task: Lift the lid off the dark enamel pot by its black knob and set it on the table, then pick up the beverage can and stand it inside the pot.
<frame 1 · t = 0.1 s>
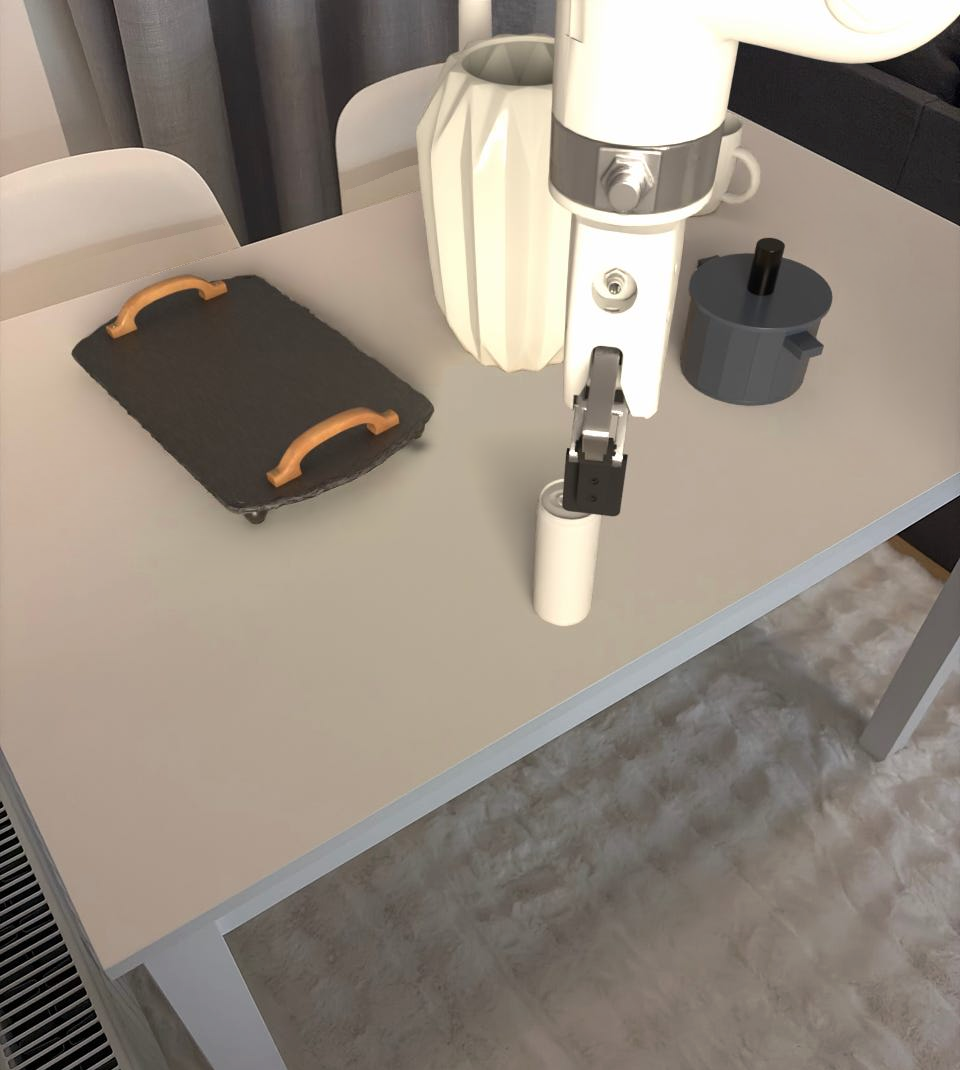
hand: (600, 454, 56), 22 cm above the table, tool pointing down, fingers open, 9 cm apart
mug: (704, 210, 120), on the table
pot: (741, 368, 98), on the table
vase: (519, 343, 102), on the table
beverage can: (561, 609, 78), on the table
lid: (759, 293, 92), point 8 cm above the table, touching pot
wine bottle: (478, 259, 113), on the table
serving tray: (252, 401, 96), on the table
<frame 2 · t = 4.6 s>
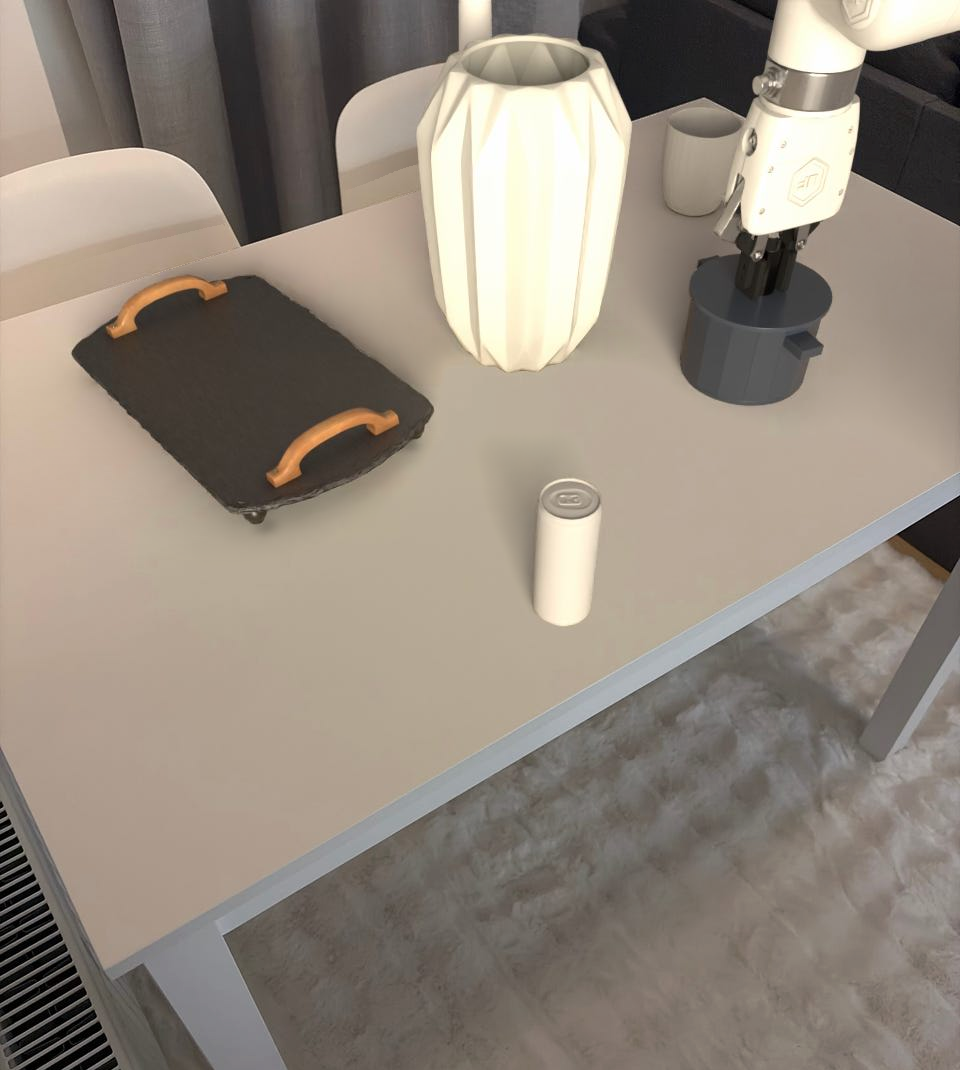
hand: (760, 287, 91), 9 cm above the table, tool pointing down, fingers closed on lid, 2 cm apart
lid: (759, 293, 92), point 9 cm above the table, touching gripper, pot
everything else where it was.
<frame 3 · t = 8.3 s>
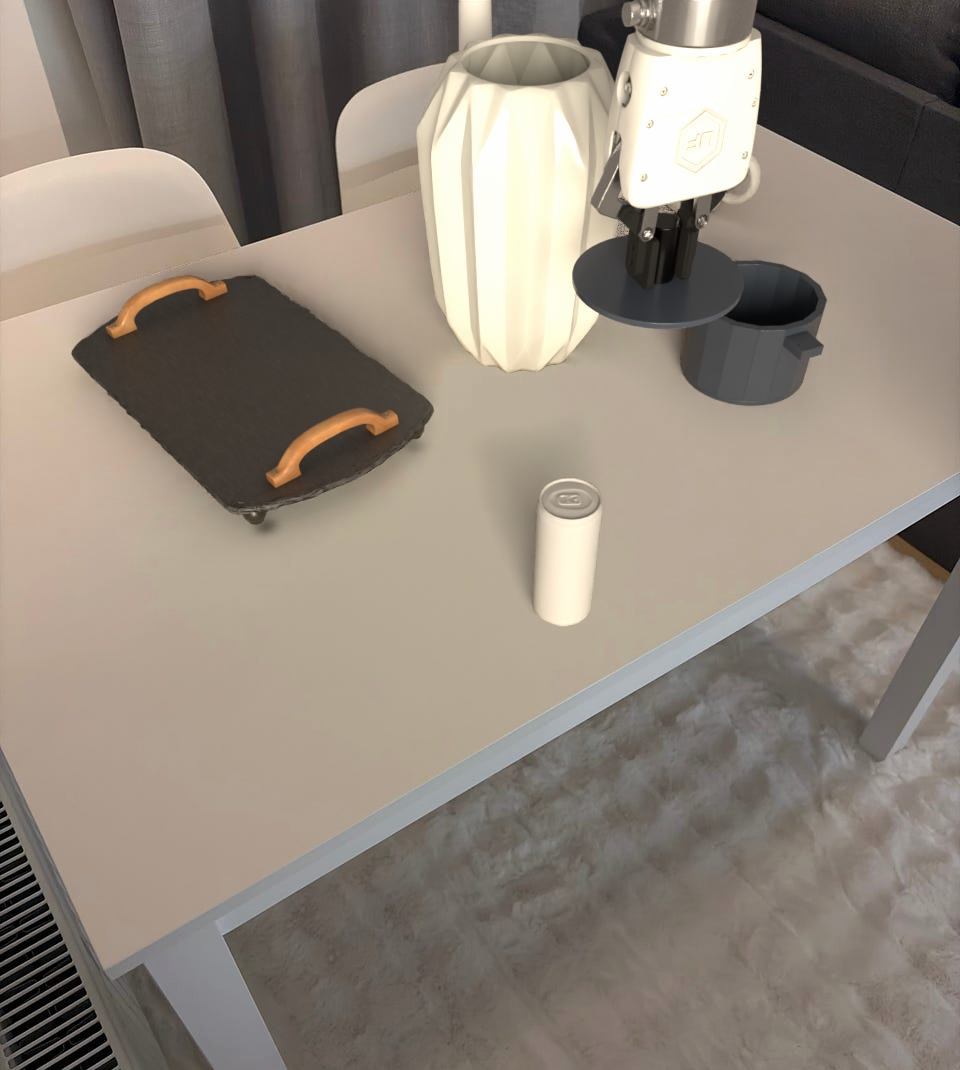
hand: (658, 273, 75), 19 cm above the table, tool pointing down, fingers closed on lid, 2 cm apart
lid: (656, 281, 76), point 18 cm above the table, touching gripper
everything else where it was.
when the fingers open (1 cm above the table, at t = 12.2 s): lid stays where it is, point 1 cm above the table.
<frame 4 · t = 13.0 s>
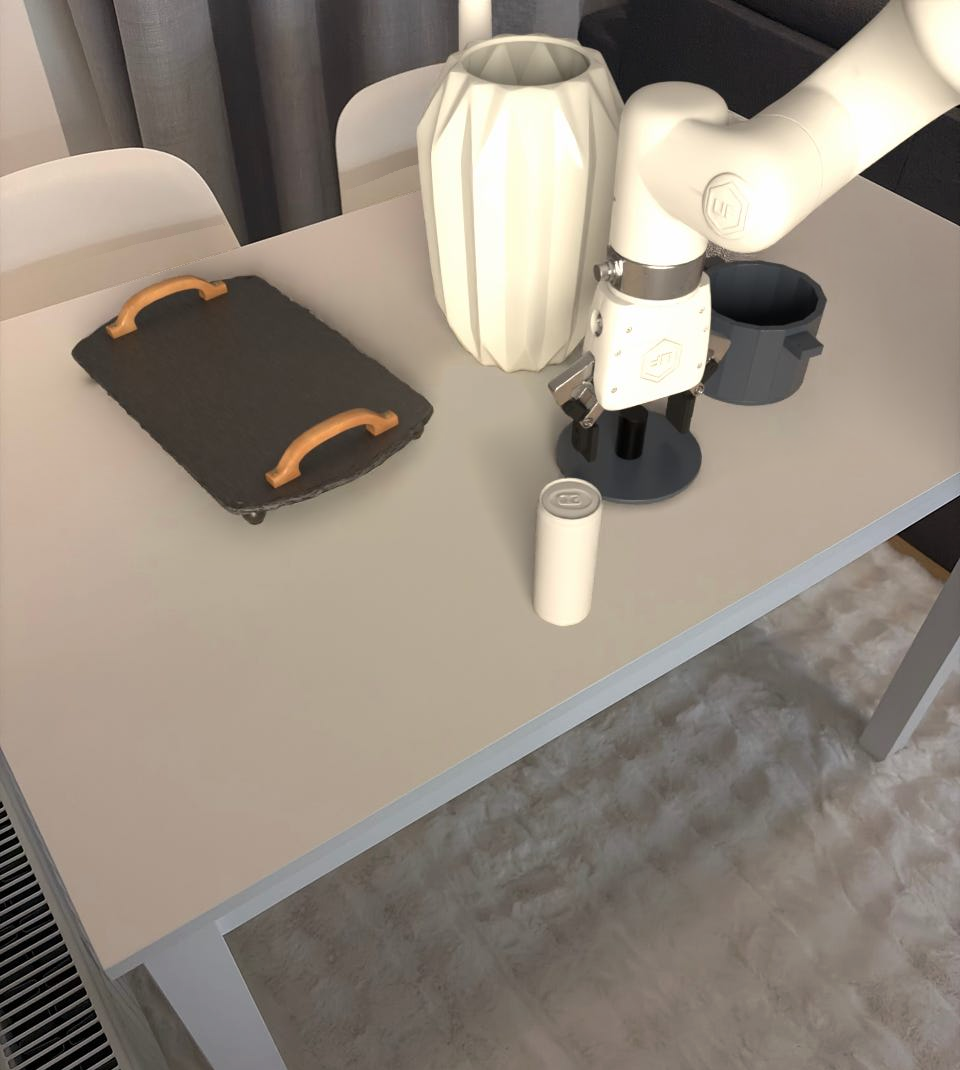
hand: (631, 438, 87), 3 cm above the table, tool pointing down, fingers open, 9 cm apart
lid: (627, 455, 89), point 1 cm above the table
everything else where it was.
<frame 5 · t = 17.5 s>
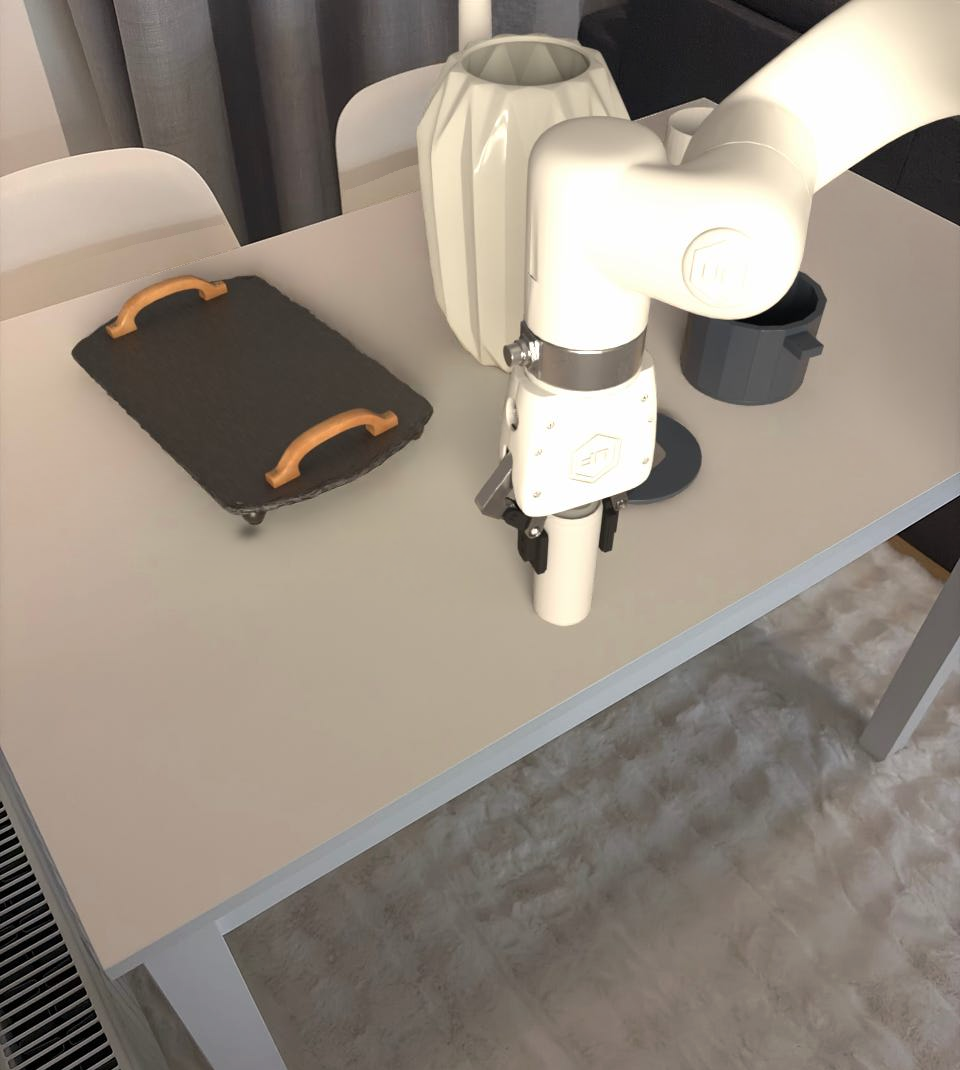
hand: (566, 549, 72), 7 cm above the table, tool pointing down, fingers closed on beverage can, 4 cm apart
beverage can: (561, 609, 78), on the table, touching gripper
everything else where it was.
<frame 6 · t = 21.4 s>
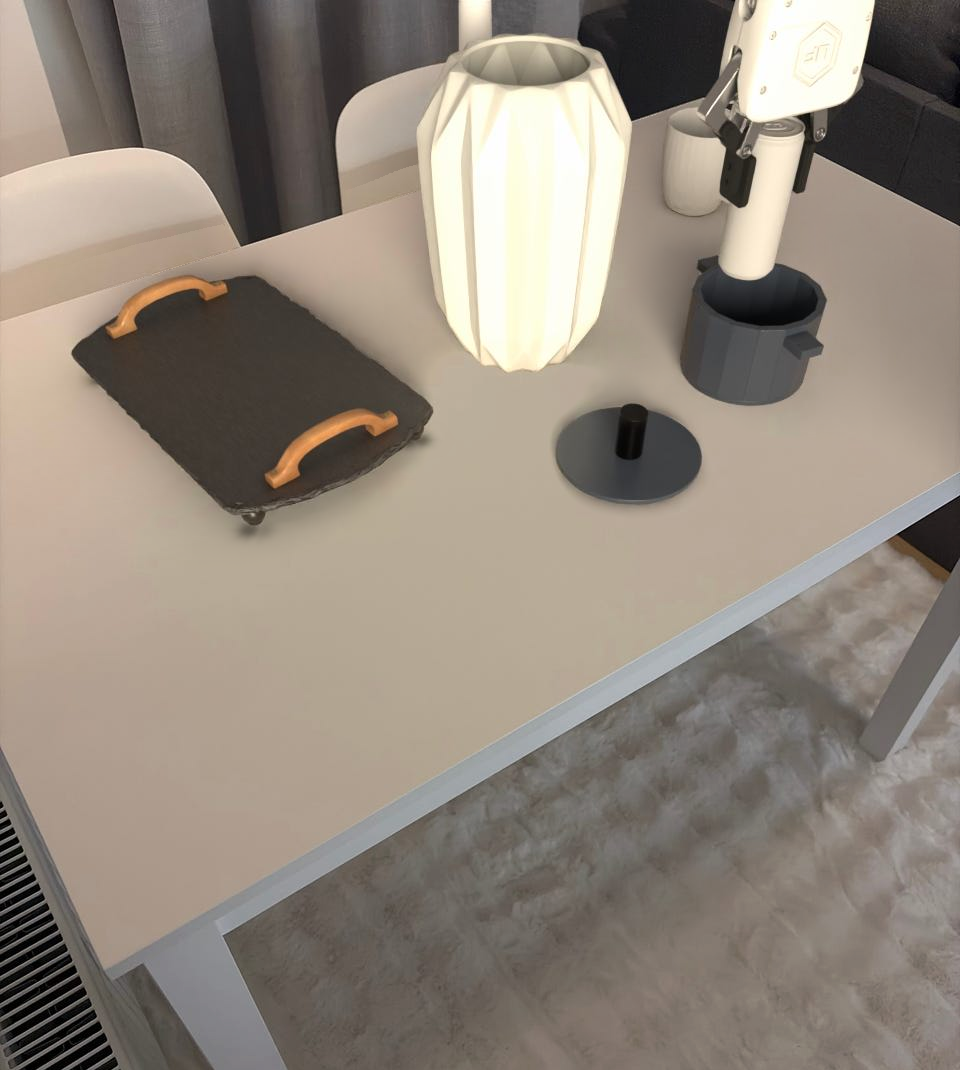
hand: (761, 191, 78), 21 cm above the table, tool pointing down, fingers closed on beverage can, 4 cm apart
beverage can: (744, 270, 83), point 14 cm above the table, touching gripper
everything else where it was.
when the fingers open (7 cm above the table, at t = 25.6 s): beverage can stays where it is, resting on pot.
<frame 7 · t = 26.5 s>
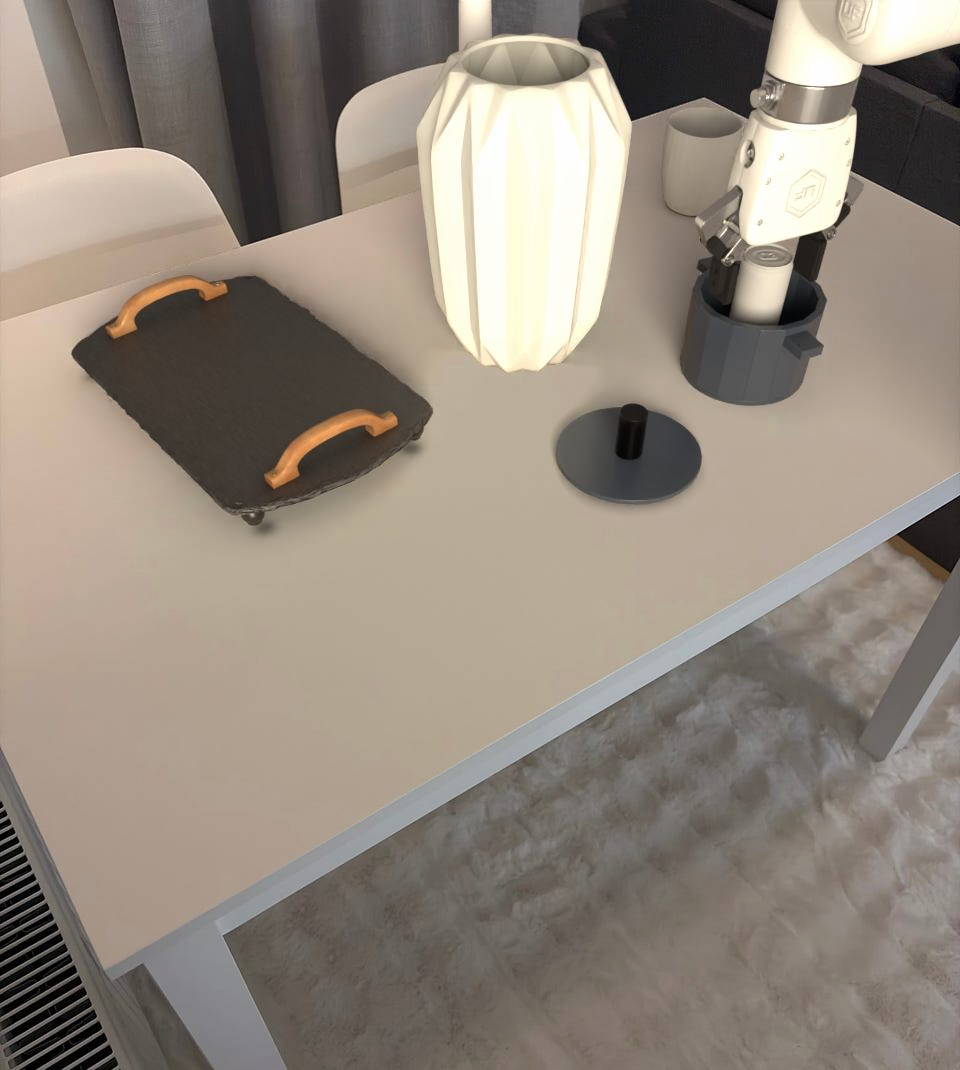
hand: (761, 286, 91), 9 cm above the table, tool pointing down, fingers open, 9 cm apart
beverage can: (742, 366, 98), resting on pot
everything else where it was.
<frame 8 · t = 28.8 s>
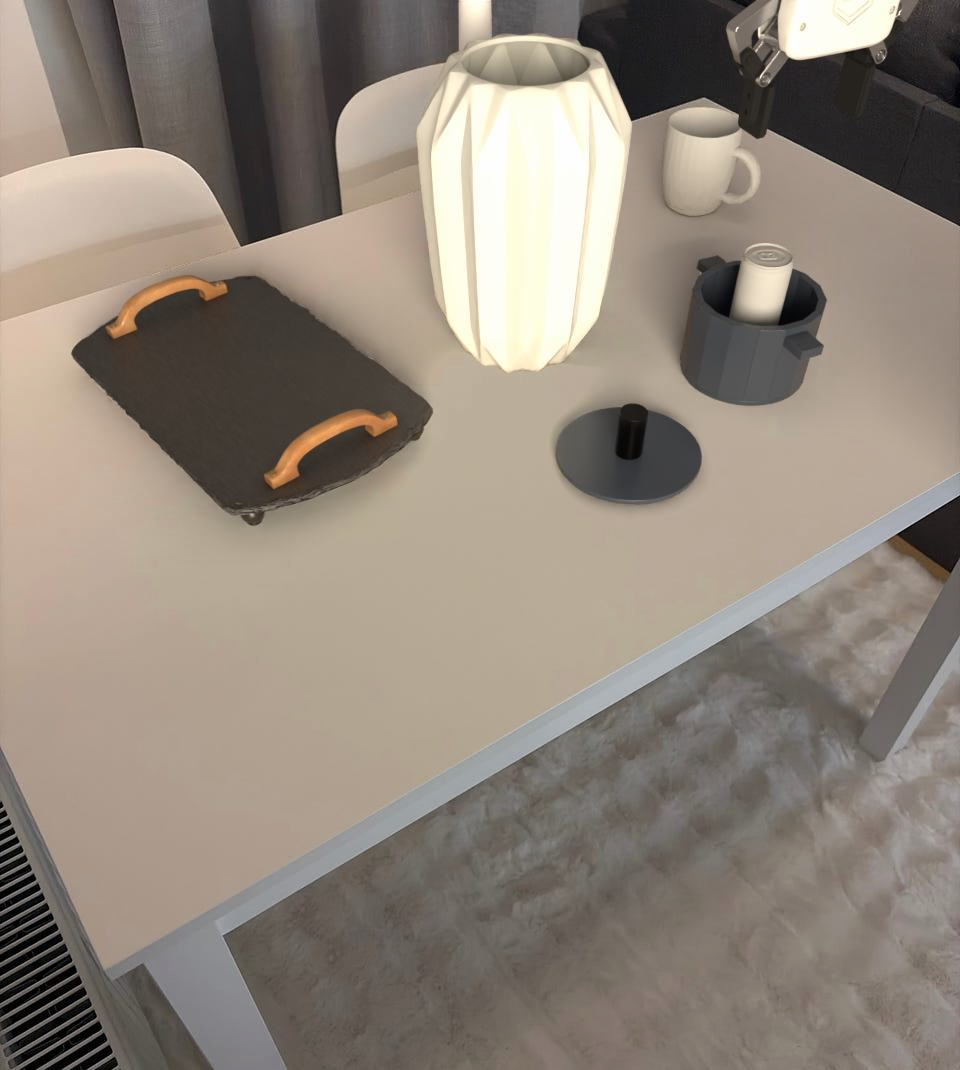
hand: (799, 121, 80), 24 cm above the table, tool pointing down, fingers open, 9 cm apart
nothing on the table moved.
at the end: lid inside the target area (0.0 cm from its centre), point 0.6 cm above the table; beverage can inside the target area in the pot (0.1 cm from its centre), point 0.3 cm above the pot's base; beverage can tilted 0° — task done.
